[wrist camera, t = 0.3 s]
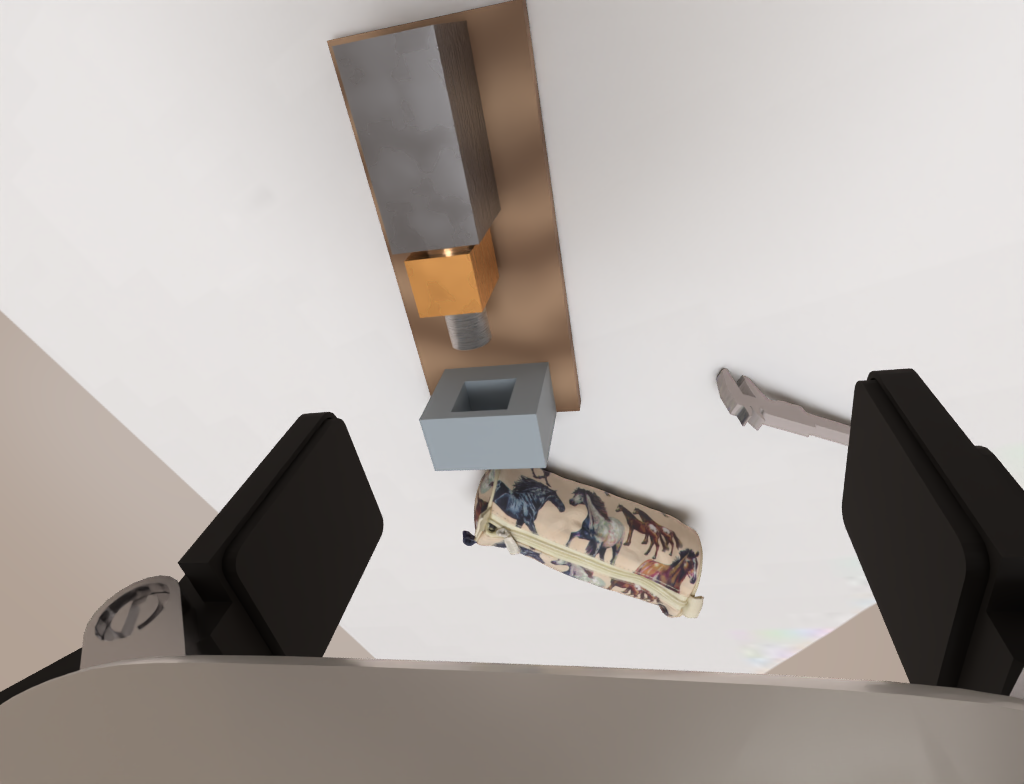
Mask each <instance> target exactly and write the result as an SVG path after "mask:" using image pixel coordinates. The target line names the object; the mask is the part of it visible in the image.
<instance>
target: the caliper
mask: <svg viewBox="0 0 1024 784" xmlns="http://www.w3.org/2000/svg"><path fill="white" fill-rule="evenodd" d="M716 380H717V386H718V390H719V394H720V398H721V399H722V401H723V403H724V404H725V406H726V408H727V409H728V411H729V413H730V414H732V415H735V416H737V417H738V419H739V420H740V422H741V424H742V426H745V424H746V423H747V422H749V423H750V424H751V425H752V426H753V427H754V428H755V429H756V430H759V428H760V427H761V426H762V424H763V425H767V426H770V427H774V428H778V429H781V430H785V431H788V432H792V433H795V434H799V435H802V436H806V437H809V435H813V436H816V437H820V438H823V439H826V440H830V441H833V442H837V443H840V444H843V445H847V446H848V445H849V436H850V427H851V426H849V425H845V424H842V423H839V422H836V421H832V420H829V419H826V418H822V417H819V416H816V415H812V414H809V413H806V412H805V410H804V409H803V407H801V406H800V405H794V404H790V403H788V402H786V401H778V400H776V401H773V400H770V399H768V398H767V397H766V396H765V395H764V394H763V393H762V392H761V391H760V390H759V389H758V388H757V387H756V385H755V384H754V383H753V382H752V381H751V380H750V379H749V378H748V377H746V376H743V375H742V376H741V377H740V379H739V380H738V381H737V383H736V382H735V381H734V379H733V378H732V376H731V374H730V373H729V371H728V369H722V371H721V372H720V374H719V375H718V377H717V378H716Z"/></svg>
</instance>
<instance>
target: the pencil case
mask: <svg viewBox="0 0 1024 784" xmlns="http://www.w3.org/2000/svg"><path fill="white" fill-rule="evenodd" d="M474 522H475V536H473V535H472V534H471V533H470V532H468V531H463V543H464V544H466V545H468V546H472V545H473V544H475V543H477V544H479V545H482V546H496V547H502V548H507V549H508V551H509V552H510V554H511V555H515V554H519V553H521V554H523V555H525V556H528V557H530V558H533V559H535V560H537V561H539V562H541V563H542V564H544V565H546V566H548V567H551V568H553V569H555V570H557V571H559V572H562V573H564V574H567V575H569V576H571V577H574V578H576V579H579V580H582V581H586V582H589V583H591V584H594V585H596V586H599V587H602V588H605V589H608V590H612V591H616V592H619V593H621V594H624V595H628V596H631V597H634V598H638V599H641V600H643V601H646V602H649V603H652V604H656V605H659V607H660V609H661V610H662V612H663V613H664V614H665V615H666V616H668V617H671V618H673V617H680V616H682V615H684V616H685V617H687V618H697V617H698V615H699V613H700V610H701V608H702V605H703V599H704V597H702V596H698V597H695V593H696V590H697V587H698V584H699V581H700V577H701V571H702V560H703V553H702V546H701V542H700V539H699V536H698V534H697V532H696V531H695V530H694V529H692V528H690V527H688V526H687V525H685V524H683V523H681V522H680V521H679V520H678V519H676V518H674V517H672V516H670V515H668V514H665V513H662V512H660V511H657V510H654V509H650V508H648V507H646V506H643V505H641V504H638V503H635V502H633V501H630V500H626V499H623V498H620V497H617V496H615V495H613V494H610V493H608V492H606V491H603V490H600V489H597V488H595V487H591V486H588V485H585V484H581V483H578V482H575V481H572V480H568V479H565V478H563V477H560V476H558V475H556V474H554V473H551V472H548V471H545V470H543V469H540V468H523V469H487V471H486V473H485V474H484V476H483V477H482V479H481V481H480V484H479V487H478V490H477V494H476V498H475V506H474Z"/></svg>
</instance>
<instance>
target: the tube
mask: <svg viewBox="0 0 1024 784" xmlns="http://www.w3.org/2000/svg"><path fill="white" fill-rule="evenodd" d="M404 263H405V267H406V270H407V274H408V277H409V281H410V285H411V288H412V292H413V295H414V299H415V302H416V306H417V309H418V313H419V317H420V318H425V317H436V316H445V320H446V324H447V328H448V332H449V336H450V340H451V343H452V346H453V348H455V349H457V350H472V349H476V348H479V347H482V346H484V345H486V344H487V343H488V342H490V340H491V338H492V335H491V331H490V326H489V321H488V317H487V312H486V307H485V306H486V304H487V302H488V300H489V298H490V296H491V294H492V291H493V289H494V287H495V285H496V283H497V281H498V279H499V273H498V268H497V263H496V257H495V252H494V247H493V242H492V237H491V232H490V228H489V229H488V231H487V233H486V234H485V236H484V237H483V239H482V241H481V242H480V244H477V245H468V246H460V247H452V248H443V249H435V250H427V251H418V252H412V253H411V254H410V255H409V256H408V257H407V259H406V260H405V261H404Z"/></svg>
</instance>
